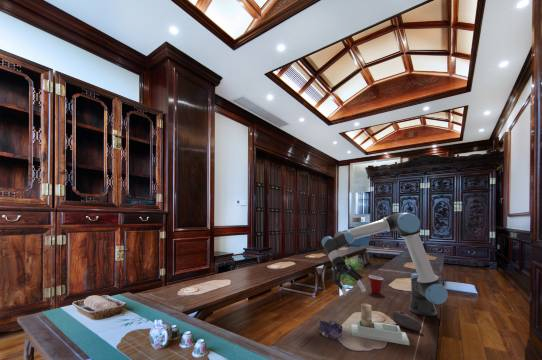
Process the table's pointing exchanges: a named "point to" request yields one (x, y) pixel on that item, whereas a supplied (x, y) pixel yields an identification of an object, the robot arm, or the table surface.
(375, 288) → the plastic cup
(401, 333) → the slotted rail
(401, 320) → the perforated stone tool
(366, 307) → the birch peg
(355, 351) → the table surface
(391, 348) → the table surface
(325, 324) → the mineral specimen
